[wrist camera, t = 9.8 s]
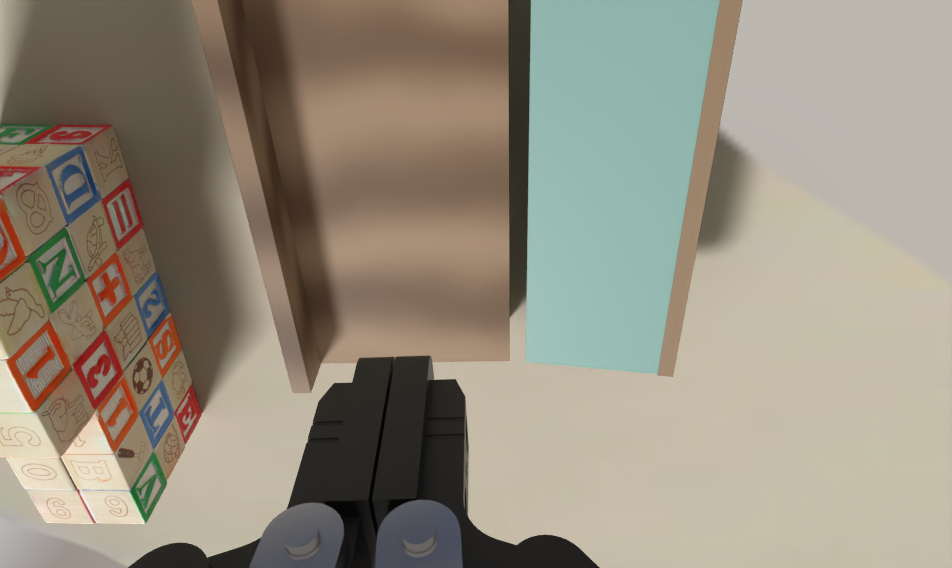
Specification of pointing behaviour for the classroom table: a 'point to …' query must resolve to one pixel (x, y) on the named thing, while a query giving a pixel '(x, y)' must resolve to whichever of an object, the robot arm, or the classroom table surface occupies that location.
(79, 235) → the stack of blocks
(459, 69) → the cart bed
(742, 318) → the classroom table surface
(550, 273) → the tailgate
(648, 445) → the classroom table surface
